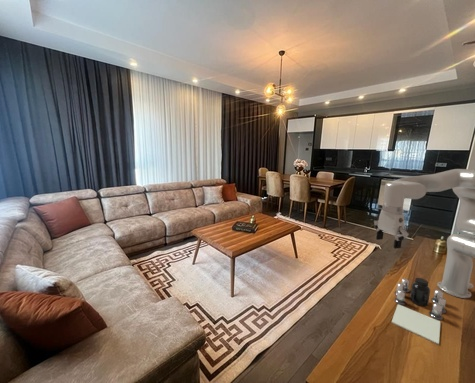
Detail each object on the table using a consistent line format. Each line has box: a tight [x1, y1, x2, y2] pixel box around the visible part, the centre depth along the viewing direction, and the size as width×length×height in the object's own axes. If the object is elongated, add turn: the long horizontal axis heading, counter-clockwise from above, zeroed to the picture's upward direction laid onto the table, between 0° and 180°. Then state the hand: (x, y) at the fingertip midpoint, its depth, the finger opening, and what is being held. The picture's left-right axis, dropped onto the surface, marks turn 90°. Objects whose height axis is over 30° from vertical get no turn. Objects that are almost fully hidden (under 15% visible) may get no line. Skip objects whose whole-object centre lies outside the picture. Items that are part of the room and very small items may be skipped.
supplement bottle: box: [409, 277, 431, 307], centre depth 101 cm, size 7×7×12 cm
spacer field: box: [394, 277, 447, 321], centre depth 102 cm, size 17×19×6 cm
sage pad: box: [391, 303, 441, 346], centre depth 90 cm, size 15×15×1 cm
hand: (387, 243), depth 98 cm, fingers open, 9 cm apart
